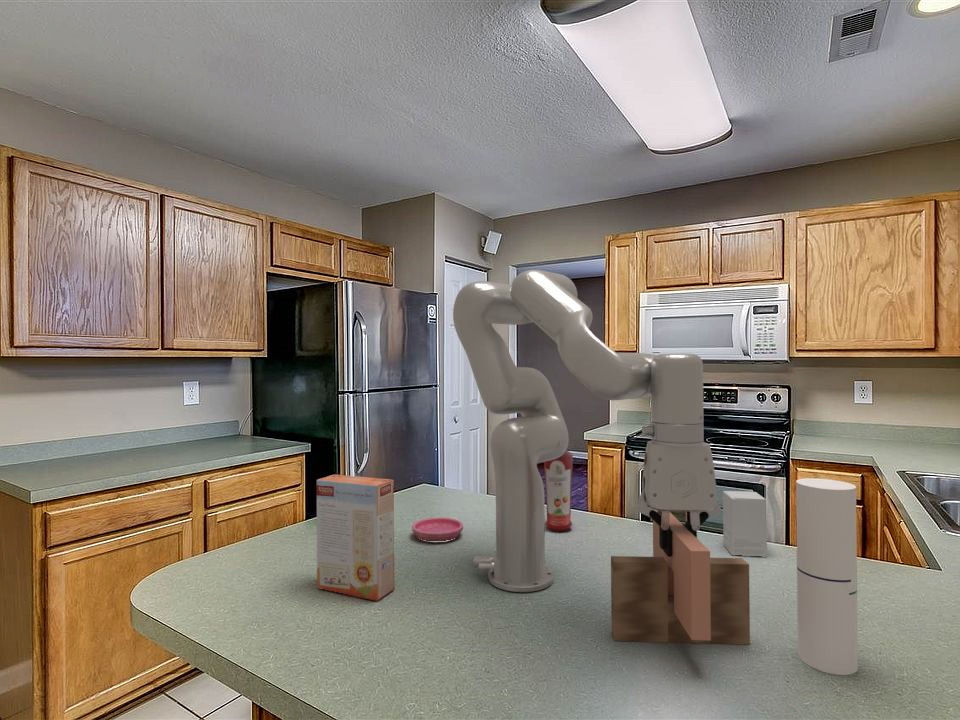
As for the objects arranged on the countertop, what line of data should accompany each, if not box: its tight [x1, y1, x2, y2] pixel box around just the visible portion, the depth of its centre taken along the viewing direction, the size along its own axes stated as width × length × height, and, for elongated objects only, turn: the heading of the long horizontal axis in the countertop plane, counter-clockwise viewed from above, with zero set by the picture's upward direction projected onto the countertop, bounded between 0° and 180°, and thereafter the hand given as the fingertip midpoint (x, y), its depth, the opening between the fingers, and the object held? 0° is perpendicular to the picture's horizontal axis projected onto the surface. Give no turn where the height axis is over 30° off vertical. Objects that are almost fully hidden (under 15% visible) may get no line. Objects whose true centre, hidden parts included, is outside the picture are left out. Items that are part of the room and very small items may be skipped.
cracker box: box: [316, 474, 395, 602], centre depth 100 cm, size 14×6×21 cm, turn 65°
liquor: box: [543, 449, 574, 533], centre depth 136 cm, size 7×7×28 cm
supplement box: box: [722, 490, 768, 558], centre depth 119 cm, size 7×7×13 cm
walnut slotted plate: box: [610, 555, 751, 645], centre depth 82 cm, size 20×2×12 cm, turn 86°
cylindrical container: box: [795, 477, 859, 676], centre depth 76 cm, size 7×7×25 cm
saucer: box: [411, 517, 464, 541], centre depth 130 cm, size 12×12×3 cm
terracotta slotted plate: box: [652, 510, 711, 641], centre depth 82 cm, size 20×2×12 cm, turn 176°
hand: (678, 552), depth 82 cm, fingers closed on terracotta slotted plate, 2 cm apart
